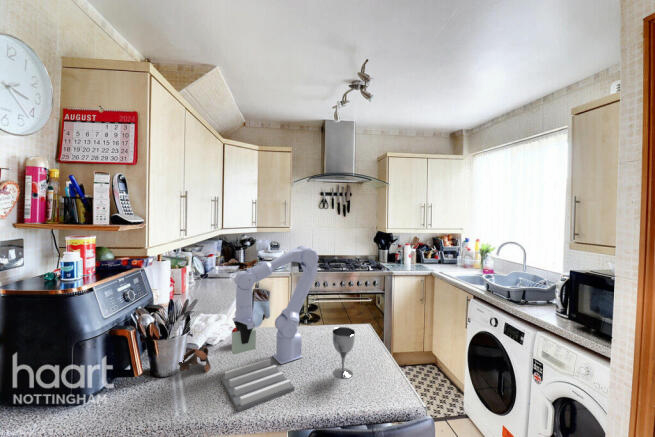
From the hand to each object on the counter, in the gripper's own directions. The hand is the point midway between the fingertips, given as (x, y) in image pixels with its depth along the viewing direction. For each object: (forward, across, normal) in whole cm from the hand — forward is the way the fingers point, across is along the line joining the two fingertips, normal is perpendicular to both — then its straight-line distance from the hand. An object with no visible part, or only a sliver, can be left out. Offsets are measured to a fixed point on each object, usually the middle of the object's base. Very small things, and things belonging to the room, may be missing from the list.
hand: (243, 341), depth 104 cm
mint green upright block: (+3, 0, 0) cm, 3 cm away
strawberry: (+10, -18, +5) cm, 21 cm away
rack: (+9, +13, 0) cm, 16 cm away
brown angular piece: (+10, -8, -14) cm, 19 cm away
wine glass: (+10, +23, +28) cm, 38 cm away
